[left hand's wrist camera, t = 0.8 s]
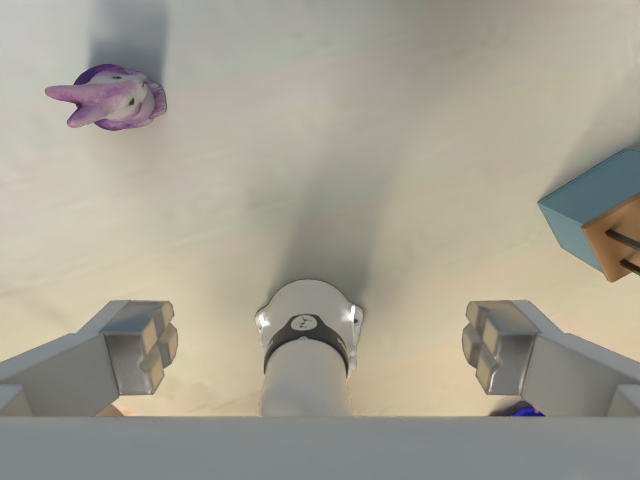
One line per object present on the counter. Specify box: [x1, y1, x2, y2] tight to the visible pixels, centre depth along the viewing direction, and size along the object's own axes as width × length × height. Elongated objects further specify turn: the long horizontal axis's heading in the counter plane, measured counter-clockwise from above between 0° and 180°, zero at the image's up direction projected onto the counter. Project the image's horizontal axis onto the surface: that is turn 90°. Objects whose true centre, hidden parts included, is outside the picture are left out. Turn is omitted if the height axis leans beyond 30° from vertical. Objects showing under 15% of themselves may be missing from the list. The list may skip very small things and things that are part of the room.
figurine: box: [45, 64, 166, 131], centre depth 44 cm, size 9×10×15 cm
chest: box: [537, 149, 640, 274], centre depth 51 cm, size 14×10×11 cm
